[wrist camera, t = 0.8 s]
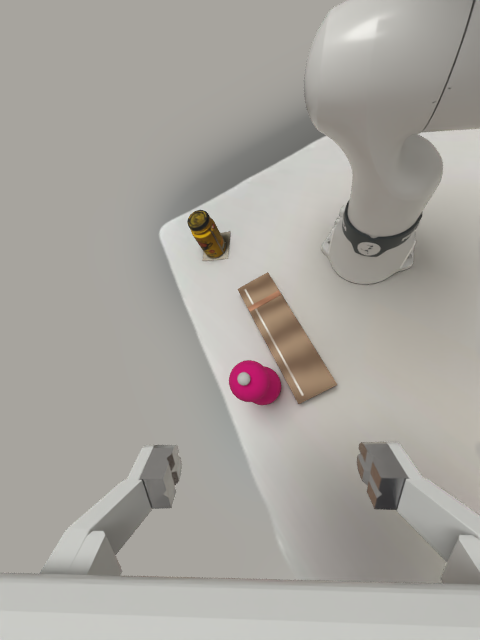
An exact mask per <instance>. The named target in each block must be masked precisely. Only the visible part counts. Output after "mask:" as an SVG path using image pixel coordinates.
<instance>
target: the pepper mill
mask: <svg viewBox="0 0 480 640" xmlns="http://www.w3.org/2000/svg"><path fill="white" fill-rule="evenodd" d="M229 385H230V389H231V391H232V393H233V394H234V395H235V396H236V397H237V398H238V399H240V400H242V401H245V402H253V403H256V404H258V405H267V404H270V403H272V402H273V401H275V400H276V399H277V397H278V396H279V393H280V390H281V382H280V379H279V377H278V375H277V374H276V372H275V371H273V370H272V369H270V368H268V367H263V366H262V365H261V364H260V363H258V362H255V361H251V360H247V361H243V362H240V363H239V364H237V365H236V366H235V367H234V368H233V369H232V371H231V374H230V377H229Z"/></svg>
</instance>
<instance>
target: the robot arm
mask: <svg viewBox="0 0 480 640" xmlns="http://www.w3.org/2000/svg"><path fill="white" fill-rule="evenodd" d="M304 97H305V103H306V108H307V111H308V114H309V116H310V119H311V120H312V122H313V124H314V125H315V127H316V128H317V129H318V130H319V131H320V132H322V133H324V134H325V135H327V136H328V137H329V138H331V139H332V140H333V141H334V142H335V143H336V144H337V145H338V146H339V147H340V148H341V149H342V151H343V152H344V153H345V155H346V157H347V158H348V160H349V163H350V165H351V168H352V174H353V178H352V188H351V195H350V200H349V201H348V203H347V205H346V206H342V208H341V210H340V213H339V216H340V218H337V219H336V221H335V226H334V227H333V229H332V230H331V232H330V234H329V235H328V237H327V238H326V240H325V241H324V243H323V244H322V247H321V250H322V251H323V253H324V254H325V255H326V256H327V257H328V258H329V260H330V262H331V265H332V267H333V269H334V270H335V272H336V273H337V274H338V275H339V276H341V277H342V278H344V279H346V280H348V281H350V282H353V283H358V284H372V283H377V282H380V281H383V280H385V279H387V278H388V277H390V276H391V275H393V274H394V273H396V272H398V271H403V270H406V269H409V268H410V267H411V266H412V264H413V258H414V246H415V244H416V240H415V229H416V228H417V226H418V224H419V221H420V219H421V217H422V212H423V209H424V208H425V206H426V205H427V203H428V201H429V200H430V198H431V197H432V195H433V193H434V192H435V190H436V188H437V187H438V185H439V183H440V181H441V178H442V174H443V162H442V158H441V156H440V154H439V152H438V151H437V149H436V148H435V147H434V145H433V144H432V143H431V142H430V141H429V140H427V139H425V138H424V137H422V136H420V135H418V134H419V133H421V132H436V131H452V130H468V129H480V0H346V1H344V2H342V3H341V4H339V5H337V6H335V7H334V8H332V9H331V10H330V11H329V13H328V14H327V16H326V17H325V19H324V20H323V22H322V24H321V26H320V27H319V30H318V32H317V34H316V36H315V38H314V40H313V43H312V45H311V48H310V51H309V55H308V59H307V63H306V69H305V75H304ZM328 243H330V244H328ZM407 258H408V259H407ZM359 450H360V454H359V455H358V456H357V467H358V471H359V474H360V477H361V479H362V481H363V482H364V483H365V484H367V485H368V488H367V493H368V495H369V498H370V500H371V502H372V504H373V507H374V509H387V510H397V512H398V513H399V514H400V515H401V516H402V517H403V518H404V519H405V520H406V521H407V522H408V523H409V524H410V525H411V526H412V527H413V528H414V529H415V530H416V531H417V532H418V533H419V534H420V535H421V536H422V537H423V538H424V539H425V540H426V541H427V542H428V543H429V544H430V545H431V546H432V547H433V548H434V549H435V550H436V551H437V553H438V554H439V555H440V556H441V557H442V558H443V559H444V560H445V561H446V562H447V564H446V566H445V568H444V571H443V573H442V575H441V580H442V582H443V584H441V583H400V582H360V581H320V580H280V579H278V580H277V579H238V578H195V577H156V576H155V577H154V576H121V573H122V570H121V566H120V564H119V562H118V560H117V558H116V556H115V555H116V554H117V553H118V552H119V550H120V549H121V548H122V547H123V545H124V544H125V543H126V542H127V540H128V539H129V538H130V537H131V535H132V534H133V533H134V532H135V530H136V529H137V528H138V527H139V525H140V524H141V523H142V522H143V521H144V519H145V518H146V517H147V516H148V514H149V513H150V512H151V511H152V509H154V508H155V509H159V508H172V504H173V500H174V497H175V493H176V489H175V485H176V484H177V483H178V481H179V479H180V476H181V469H182V463H181V458H180V457H179V456H178V453H179V449H178V446H177V445H145V446H144V447H143V448H142V449H141V451H140V453H139V455H138V457H137V459H136V461H135V463H134V466H133V467H132V470H131V471H130V474H129V475H128V478H127V480H122V481H121V482H120V483H119V484H118V485H117V486H116V487H115V488H113V489H112V490H111V491H110V492H109V493H108V494H107V495H105V496H104V497H103V498H102V499H101V500H100V501H99V502H97V503H96V504H95V505H94V506H93V507H91V508H90V509H89V510H88V511H87V512H86V513H85V514H84V515H82V516H81V517H80V518H79V519H78V520H77V521H75V522H74V523H73V524H72V525H71V526H70V527H69V528H67V529H66V531H65V533H64V534H63V536H62V538H61V539H60V541H59V542H58V545H57V546H56V547H55V549H54V551H53V552H52V554H51V556H50V558H49V559H48V560H47V562H46V564H45V565H44V567H43V569H42V570H41V572H40V574H31V573H0V640H480V515H478V514H477V513H475V512H474V511H473V510H471V509H470V508H468V507H467V506H465V505H464V504H463V503H461V502H460V501H458V500H457V499H456V498H454V497H453V496H451V495H450V494H449V493H447V492H446V491H444V490H443V489H442V488H440V487H439V486H437V485H436V484H434V483H433V482H432V481H430V480H429V479H424V478H423V477H422V475H421V474H420V472H419V471H418V469H417V468H416V466H415V465H414V463H413V462H412V461H411V459H410V458H409V456H408V455H407V453H406V452H405V450H404V449H403V447H402V446H401V445H400V443H398V442H361V443H360V444H359Z"/></svg>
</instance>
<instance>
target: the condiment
mask: <svg viewBox="0 0 480 640" xmlns="http://www.w3.org/2000/svg"><path fill="white" fill-rule="evenodd" d="M188 226H189V228H190V229H191V232H192V235H193V236H194V238H195V239H196V241H197V242H198V244H199V245H200V246H201V248H202V249H203V251H204V254H203V260H202V261H207V260H219V259H228V253H229V241H230V232H224V233H220V232H219V230H218V228H217V226H216V224H215V222H214V221H213V219H211V218H210V217H209V215H208V213H207V212H206V211H203V210H198V211H195V212H193V213H192V214H191V215H190V216H189V218H188Z"/></svg>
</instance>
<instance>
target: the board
mask: <svg viewBox="0 0 480 640" xmlns="http://www.w3.org/2000/svg"><path fill="white" fill-rule="evenodd" d="M238 291H239V293H240V295H241V297H242V298H243V300H244V302H245V304H246V306H247V308H248V310H249V312H250V313H251V315H252V317H253V319H254V321H255V323H256V325H257V327H258V329H259V330H260V332H261V334H262V336H263V338H264V340H265V342H266V344H267V346H268V347H269V349H270V351H271V353H272V355H273V357H274V359H275V361H276V363H277V364H278V366H279V368H280V370H281V372H282V374H283V376H284V378H285V379H286V381H287V383H288V385H289V387H290V389H291V391H292V393H293V395H294V396H295V398H296V400H297V402H298V404H300V403H302V402H304V401H306V400H308V399H310V398H312V397H314V396H316V395H318V394H320V393H322V392H324V391H326V390H328V389H330V388H332V387H334V386H336V385H337V383H336V382H335V380H334V379H333V377H332V375H331V374H330V372H329V370H328V369H327V367H326V366H325V364H324V362H323V361H322V359H321V358H320V356H319V354H318V353H317V351H316V349H315V348H314V346H313V345H312V343H311V341H310V340H309V338H308V336H307V335H306V333H305V332H304V330H303V328H302V327H301V325H300V324H299V322H298V320H297V319H296V317H295V315H294V314H293V312H292V311H291V309H290V307H289V306H288V304H287V302H286V301H285V299H284V298H283V296H282V294H281V293H280V291H279V290H278V288H277V286H276V285H275V283H274V281H273V280H272V278H271V277H270V275H269V273H266V274H264V275H262V276H260V277H259V278H257V279H255V280H253V281H251V282H250V283H248V284H246V285H244V286H242V287H241V288H239V289H238Z"/></svg>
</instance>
